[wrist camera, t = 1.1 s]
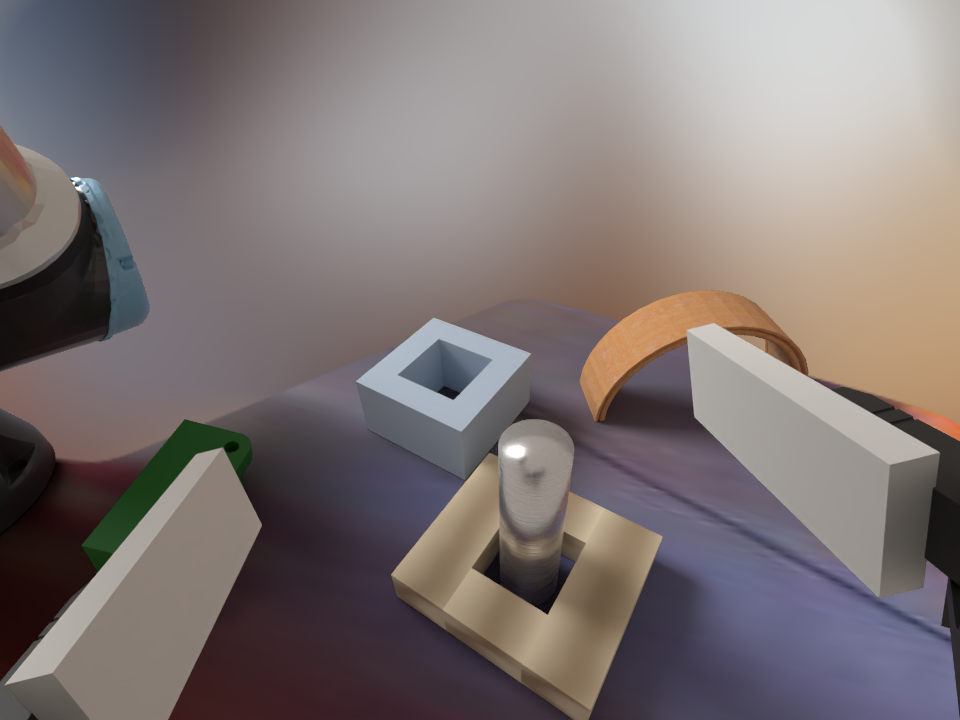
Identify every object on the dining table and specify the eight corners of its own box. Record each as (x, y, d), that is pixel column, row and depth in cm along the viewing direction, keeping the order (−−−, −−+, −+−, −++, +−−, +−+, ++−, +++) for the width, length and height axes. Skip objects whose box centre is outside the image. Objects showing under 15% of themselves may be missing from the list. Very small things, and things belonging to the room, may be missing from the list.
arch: (801, 404, 48) (847, 318, 41) (594, 423, 47) (608, 337, 41) (769, 365, 52) (805, 281, 46) (579, 381, 51) (589, 298, 45)
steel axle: (489, 586, 35) (483, 456, 26) (517, 541, 38) (521, 409, 29) (540, 617, 33) (552, 490, 24) (566, 569, 36) (586, 437, 27)
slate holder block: (368, 429, 47) (355, 381, 43) (438, 364, 54) (433, 317, 50) (465, 480, 42) (461, 431, 38) (529, 401, 49) (531, 353, 45)
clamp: (209, 597, 40) (159, 598, 32) (135, 579, 40) (65, 574, 31) (271, 452, 45) (241, 421, 37) (205, 435, 45) (161, 400, 37)
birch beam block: (397, 596, 35) (390, 574, 33) (490, 475, 42) (489, 452, 41) (585, 727, 29) (590, 710, 27) (654, 559, 36) (662, 536, 34)
